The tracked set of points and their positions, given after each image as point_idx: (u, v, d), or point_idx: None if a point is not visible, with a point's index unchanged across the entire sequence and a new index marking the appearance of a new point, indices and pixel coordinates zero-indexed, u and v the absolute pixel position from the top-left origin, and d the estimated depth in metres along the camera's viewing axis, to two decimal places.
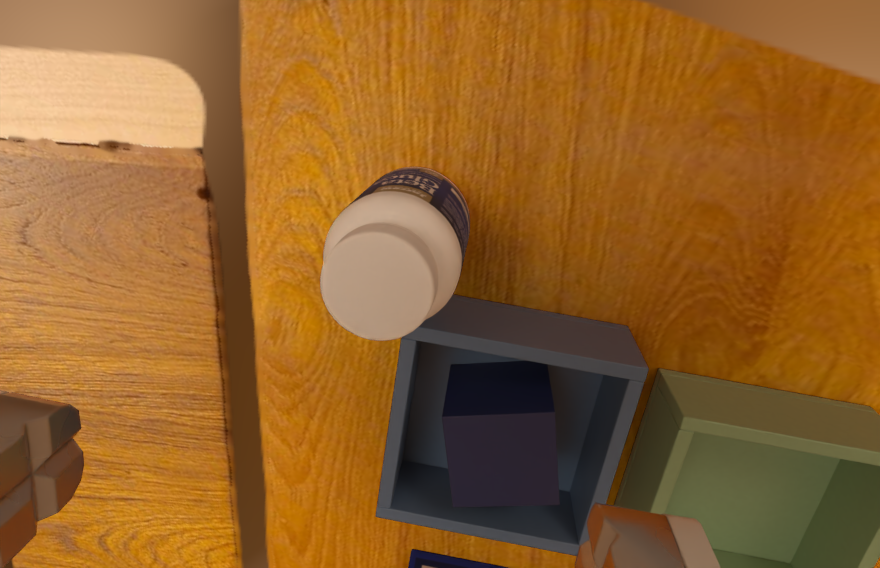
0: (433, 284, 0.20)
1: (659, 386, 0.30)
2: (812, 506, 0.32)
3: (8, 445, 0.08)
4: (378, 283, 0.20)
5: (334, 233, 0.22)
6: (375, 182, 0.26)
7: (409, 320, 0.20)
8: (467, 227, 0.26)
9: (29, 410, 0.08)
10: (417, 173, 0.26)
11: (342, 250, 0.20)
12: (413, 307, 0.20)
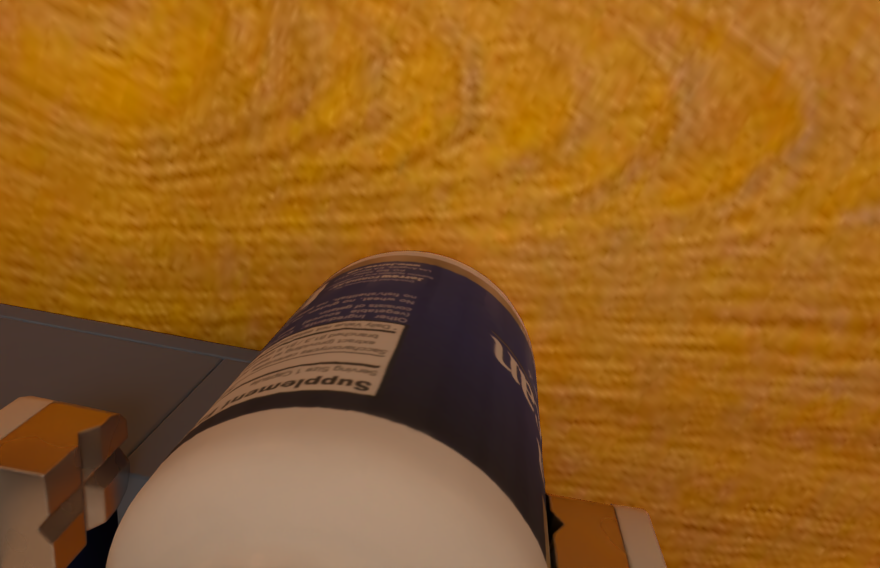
0: None
1: None
2: None
3: (64, 456, 0.08)
4: None
5: (419, 528, 0.06)
6: (517, 351, 0.10)
7: None
8: None
9: (81, 419, 0.08)
10: None
11: None
12: None
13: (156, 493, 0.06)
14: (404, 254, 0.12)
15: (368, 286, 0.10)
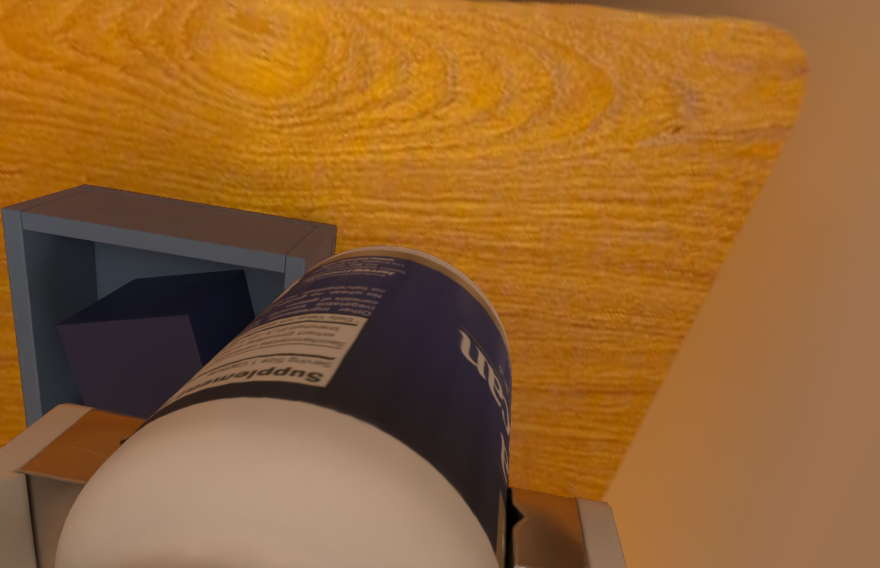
0: None
1: None
2: None
3: None
4: None
5: (357, 518, 0.06)
6: (487, 346, 0.10)
7: None
8: None
9: (122, 427, 0.08)
10: None
11: None
12: None
13: (102, 480, 0.06)
14: (380, 249, 0.12)
15: (339, 279, 0.10)
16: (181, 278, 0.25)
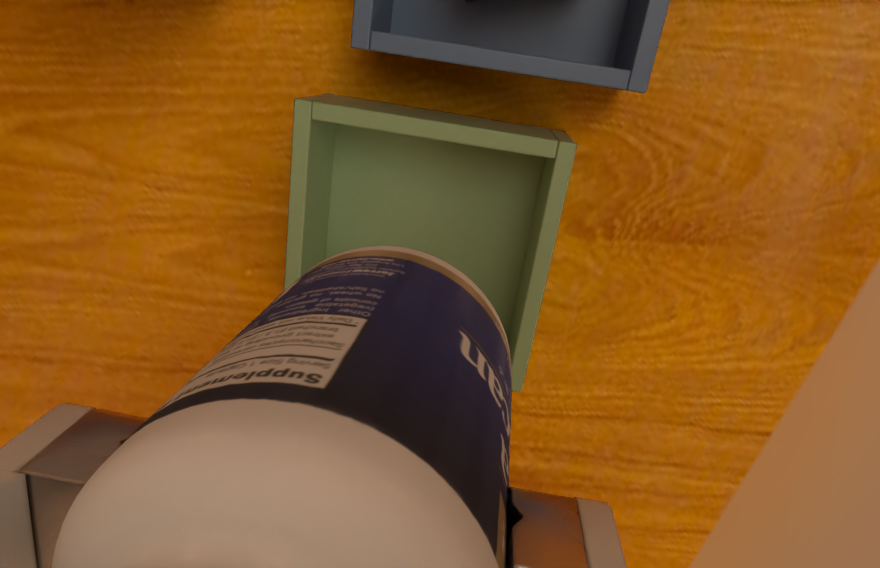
0: None
1: (553, 131, 0.26)
2: None
3: None
4: None
5: (356, 521, 0.06)
6: (487, 347, 0.10)
7: None
8: None
9: (122, 428, 0.08)
10: None
11: None
12: None
13: (99, 483, 0.06)
14: (379, 249, 0.12)
15: (338, 280, 0.10)
16: None
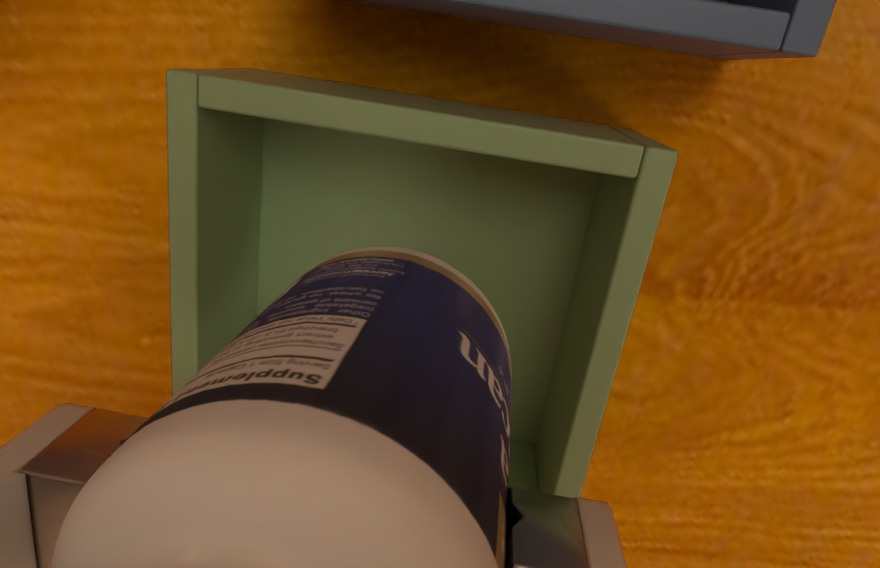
0: None
1: (617, 129, 0.15)
2: None
3: None
4: None
5: (355, 522, 0.06)
6: (487, 347, 0.10)
7: None
8: None
9: (121, 427, 0.08)
10: None
11: None
12: None
13: (98, 483, 0.06)
14: (379, 249, 0.12)
15: (337, 280, 0.10)
16: None
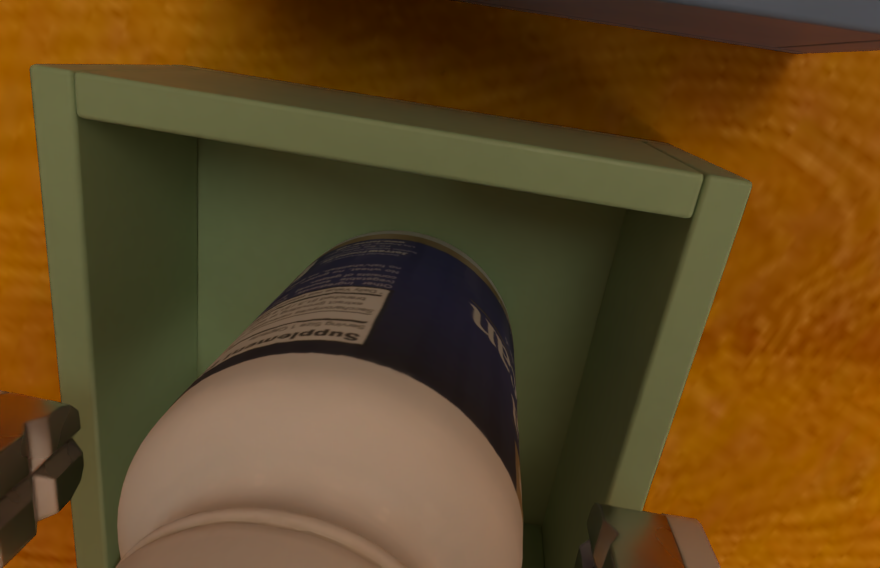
0: None
1: (651, 144, 0.12)
2: None
3: (8, 445, 0.08)
4: None
5: (402, 450, 0.07)
6: (495, 319, 0.11)
7: None
8: None
9: (29, 410, 0.09)
10: None
11: None
12: None
13: (166, 427, 0.07)
14: (390, 233, 0.13)
15: (356, 259, 0.11)
16: None
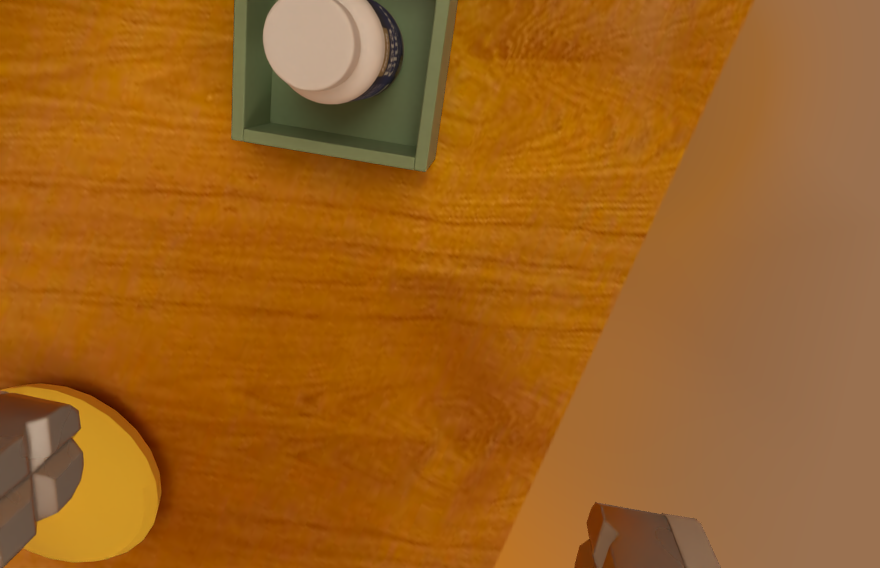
0: (316, 90, 0.26)
1: None
2: (334, 129, 0.36)
3: (8, 445, 0.08)
4: (312, 43, 0.25)
5: None
6: (389, 17, 0.31)
7: (284, 70, 0.25)
8: None
9: (30, 410, 0.09)
10: (399, 55, 0.32)
11: (336, 12, 0.24)
12: (296, 73, 0.25)
13: None
14: None
15: None
16: None
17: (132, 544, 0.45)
